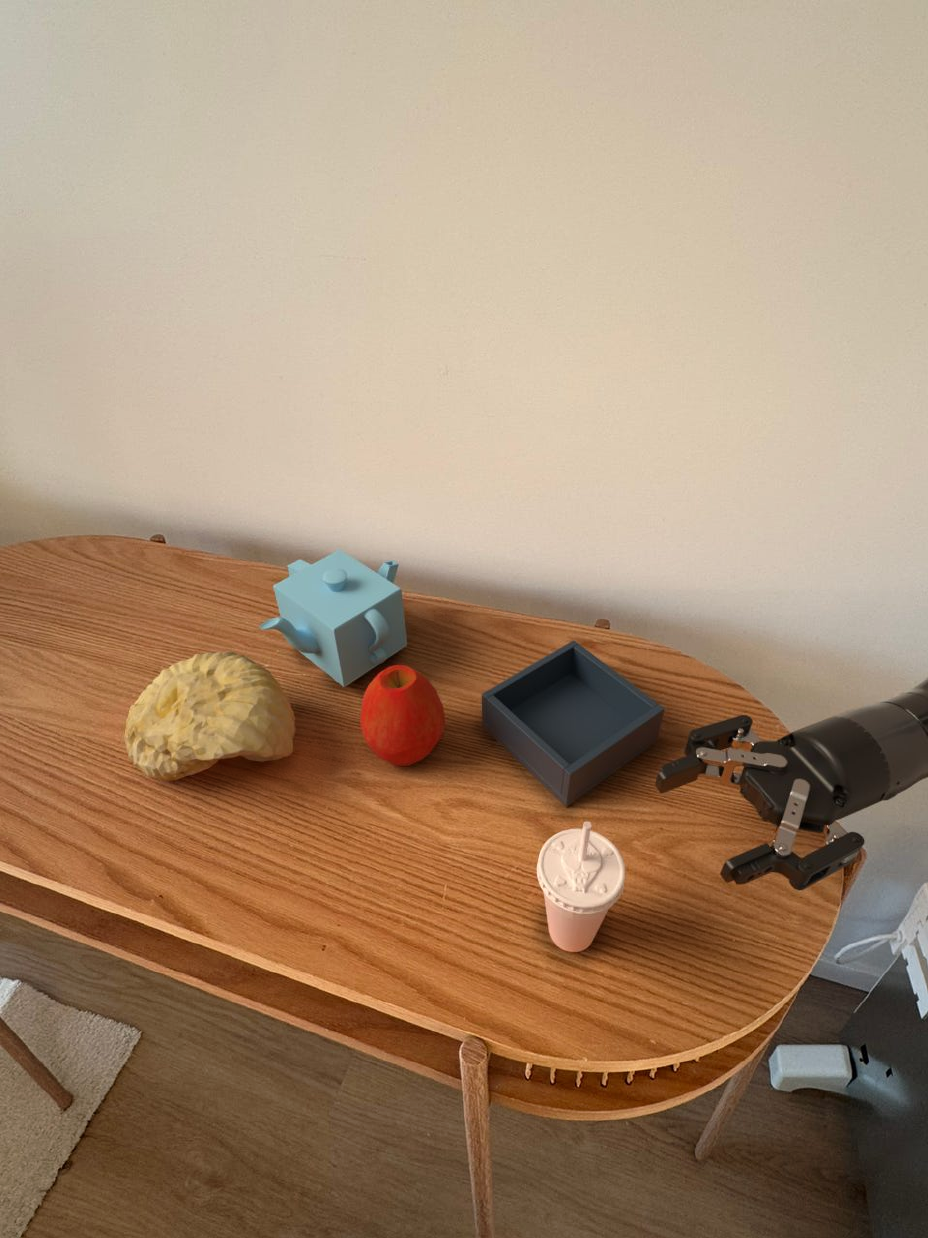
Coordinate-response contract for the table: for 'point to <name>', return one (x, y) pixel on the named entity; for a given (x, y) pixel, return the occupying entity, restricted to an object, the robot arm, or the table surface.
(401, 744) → the apple
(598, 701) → the bin
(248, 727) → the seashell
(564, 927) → the smoothie
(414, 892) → the table surface
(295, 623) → the teapot
